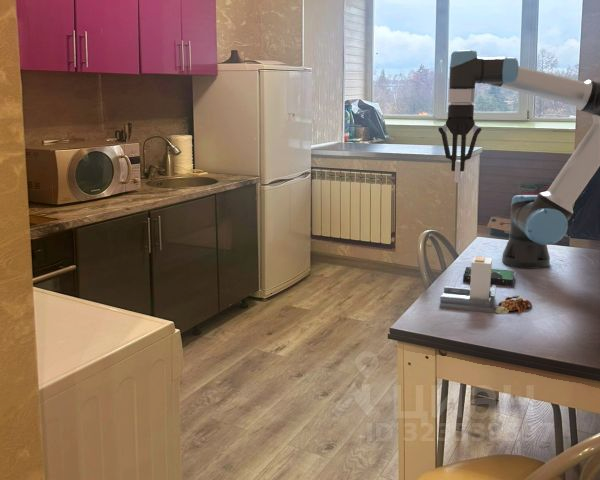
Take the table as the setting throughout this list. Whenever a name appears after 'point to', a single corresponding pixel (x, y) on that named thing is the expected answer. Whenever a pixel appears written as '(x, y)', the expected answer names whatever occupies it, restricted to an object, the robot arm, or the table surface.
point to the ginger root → (512, 305)
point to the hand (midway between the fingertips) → (457, 181)
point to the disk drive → (494, 277)
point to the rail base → (466, 300)
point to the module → (480, 278)
